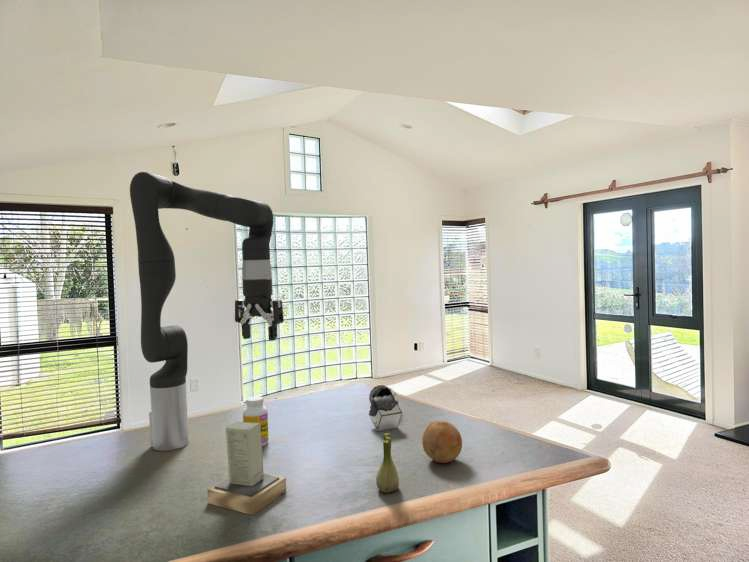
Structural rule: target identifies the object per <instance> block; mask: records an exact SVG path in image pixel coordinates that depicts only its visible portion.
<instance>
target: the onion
mask: <svg viewBox="0 0 749 562" xmlns="http://www.w3.org/2000/svg"><path fill="white" fill-rule="evenodd" d="M421 441H422V448H423V451H424V453H425V454H426V455H427V457H428V458H430V459H431V460H433V461H434V462H437V463H441V464H446V463H450V462H453V461H454V460H456V459H457V458H458V457H459V455H460V453H461V452H462V448H463V437H462V435H461V433H460V431H459V430H458V428H457V427H456V426H455V425H454V424H452V423H451V422H449V421H446V420H436V421H431V422H430V423H429V424H428V425H427V427H426V429H425V430H424V432H423V434H422V440H421Z"/></svg>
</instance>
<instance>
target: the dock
mask: <svg viewBox="0 0 749 562" xmlns="http://www.w3.org/2000/svg"><path fill="white" fill-rule="evenodd" d="M263 473H264V478H263V479H262V480H260V481H259V482H258V483H256V484H255V485H254V486H246V485H239V484H233V483H229V476H228V477H226V478H224V479H223V480H221V481H219V482H217V483H216V484H214V485H212V486H210V487H209V488H207V489H206V490H207V503H208V504H210V505H213V506H217V507H220V508H221V507H222V508H224V509H228V510H232V511H235V512H239V513H244V514H248V515H251V516H253V515H255V514H256V513H258V512H259V511H260V510H262V509H263V508H265V507H266V506H267V505H269V504H270V503H272V502H273V501H274V499H275V500H276V499H278V498H279V497H280V496H282V495H283V494H285V493H286V492H287V478H286V477H283V476H280V475H275V474H270V473H265V472H263ZM285 491H286V492H285ZM284 492H285V493H284ZM282 493H283V494H282ZM281 494H282V495H281ZM278 496H279V497H278ZM277 497H278V498H277Z"/></svg>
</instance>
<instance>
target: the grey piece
mask: <svg viewBox="0 0 749 562" xmlns="http://www.w3.org/2000/svg"><path fill="white" fill-rule="evenodd" d="M368 400H369V402H370V407H369V412H368V415H369V418H370V420H371V422H372V424H373V426H374V429H375V430H376V432H383V431H388V430H393V429H397V428H398V427H399V424H400V421H401V417H402V414H403V411H402V409H401V408H400V406H399V396H398V394H397V392H396V391H395V390H393V388H390V387H388V386H386V385H384V384H381V385H376V386H374V387H373V388H372V389H371V390H370V393H369V399H368Z"/></svg>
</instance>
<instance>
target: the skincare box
mask: <svg viewBox="0 0 749 562" xmlns="http://www.w3.org/2000/svg"><path fill="white" fill-rule="evenodd" d="M225 436H226V437H225V438H226V451H227V466H228V477H229V483H233V484H239V485H246V486H254V485H255V484H256V483H258V482H259V481H260V480H262V479H263V478H264V473H265V472H264V462H263V459H264V458H263V446H262V443H261V429H260V423H250V422H243V421H236V422H234V423H231V424H230V425H227V426H226V427H225Z"/></svg>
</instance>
